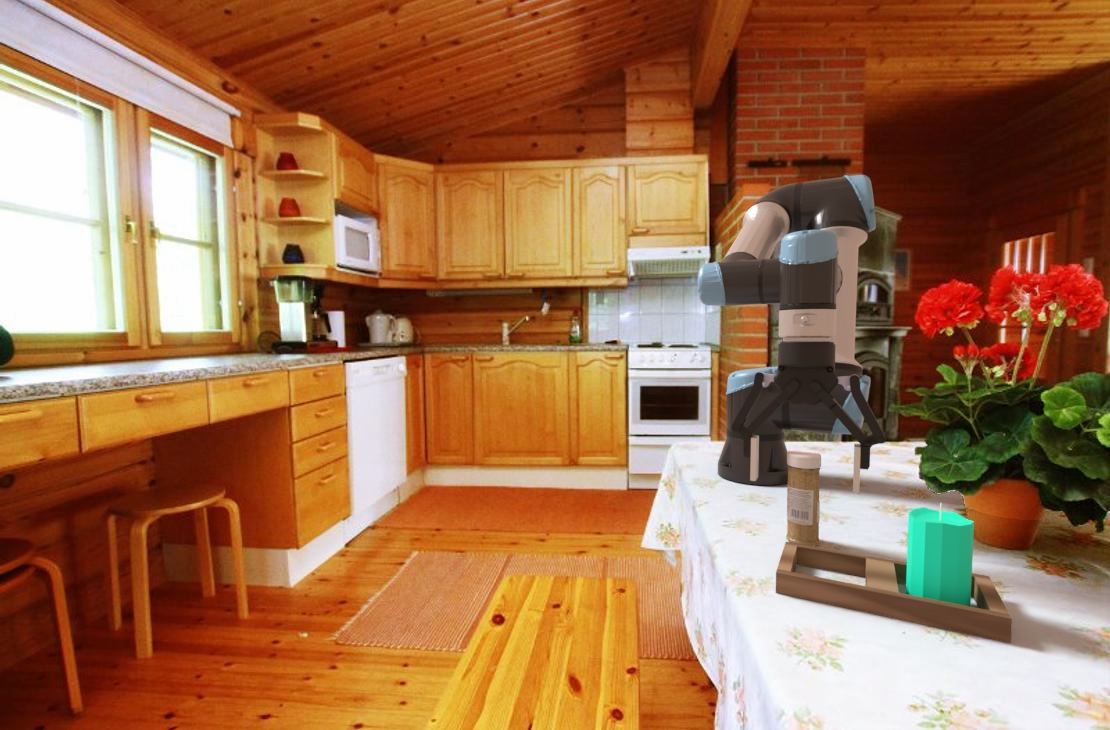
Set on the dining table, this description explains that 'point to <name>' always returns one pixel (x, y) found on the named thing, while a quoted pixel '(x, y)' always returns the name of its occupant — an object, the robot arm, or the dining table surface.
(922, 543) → the candle
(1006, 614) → the walnut rail
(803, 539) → the sprinkles bottle
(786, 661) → the dining table surface
